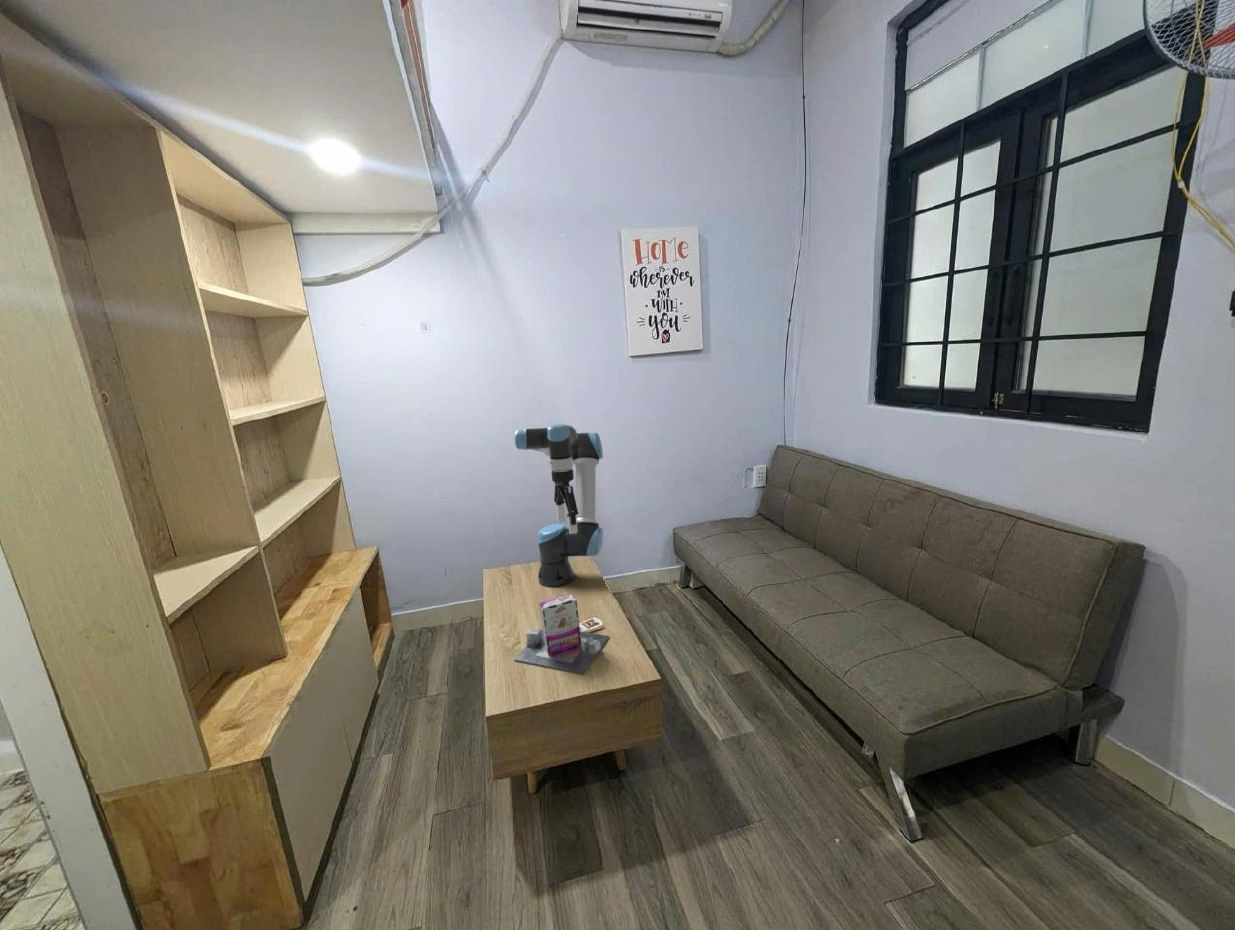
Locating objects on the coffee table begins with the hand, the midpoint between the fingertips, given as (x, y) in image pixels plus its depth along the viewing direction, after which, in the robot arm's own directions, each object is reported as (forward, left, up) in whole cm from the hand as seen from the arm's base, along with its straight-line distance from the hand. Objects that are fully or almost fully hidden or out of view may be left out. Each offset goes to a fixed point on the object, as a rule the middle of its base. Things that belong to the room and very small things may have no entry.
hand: (567, 527), depth 172 cm
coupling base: (+23, +7, -33) cm, 40 cm away
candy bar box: (+23, +7, -32) cm, 40 cm away
